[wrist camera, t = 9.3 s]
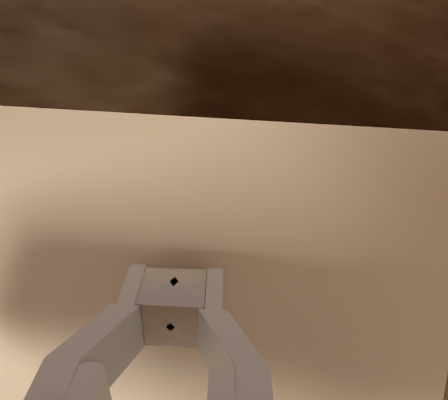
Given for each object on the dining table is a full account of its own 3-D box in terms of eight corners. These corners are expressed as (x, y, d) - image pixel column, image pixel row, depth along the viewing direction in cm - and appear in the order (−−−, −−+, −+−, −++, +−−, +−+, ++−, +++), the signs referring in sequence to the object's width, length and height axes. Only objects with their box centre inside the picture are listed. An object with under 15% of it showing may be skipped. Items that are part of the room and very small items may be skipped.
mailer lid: (486, 133, 11) (475, 134, 12) (-158, 96, 10) (-141, 99, 11) (418, 552, 13) (410, 537, 14) (-111, 541, 13) (-98, 526, 13)
